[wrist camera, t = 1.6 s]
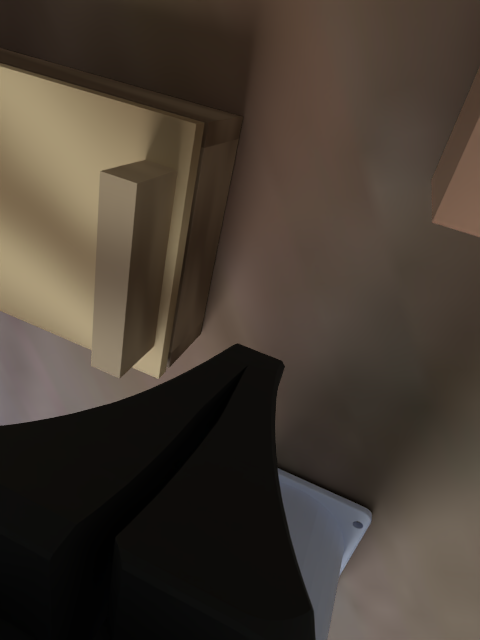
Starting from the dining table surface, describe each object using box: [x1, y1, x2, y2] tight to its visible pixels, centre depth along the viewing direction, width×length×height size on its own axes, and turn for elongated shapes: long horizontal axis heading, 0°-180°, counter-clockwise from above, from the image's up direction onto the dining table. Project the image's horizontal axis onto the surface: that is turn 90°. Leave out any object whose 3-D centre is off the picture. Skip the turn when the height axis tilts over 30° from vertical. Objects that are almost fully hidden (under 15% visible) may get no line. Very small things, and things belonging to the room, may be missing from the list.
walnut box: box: [0, 48, 243, 368], centre depth 20 cm, size 10×14×3 cm
